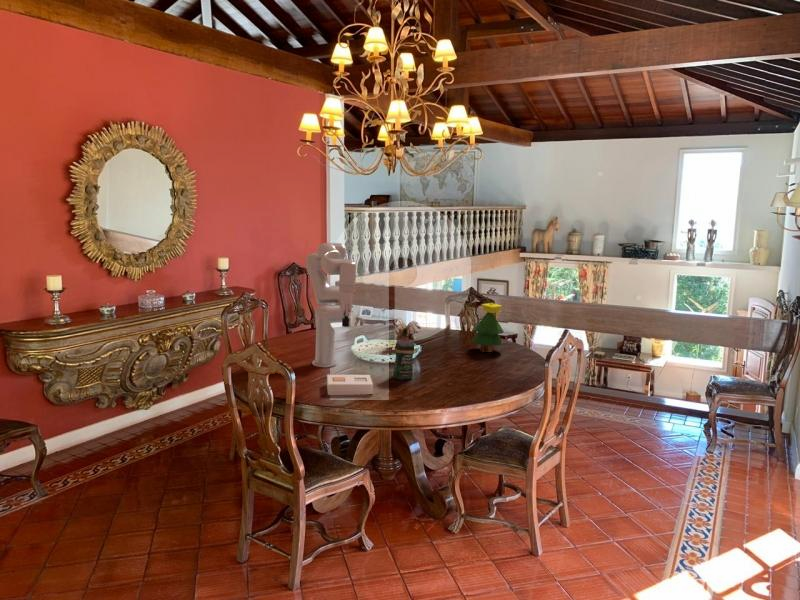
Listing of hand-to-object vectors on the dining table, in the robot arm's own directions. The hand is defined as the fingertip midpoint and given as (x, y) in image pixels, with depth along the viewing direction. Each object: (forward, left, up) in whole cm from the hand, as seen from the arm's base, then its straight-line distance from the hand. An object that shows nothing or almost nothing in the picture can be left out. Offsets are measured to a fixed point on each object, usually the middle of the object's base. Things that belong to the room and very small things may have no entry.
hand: (345, 326), depth 280 cm
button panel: (+12, +2, -27) cm, 30 cm away
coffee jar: (-6, +30, -27) cm, 41 cm away
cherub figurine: (-61, +41, -27) cm, 78 cm away
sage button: (+12, +7, -26) cm, 29 cm away
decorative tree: (-57, +89, -27) cm, 109 cm away
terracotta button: (+12, -3, -25) cm, 28 cm away
